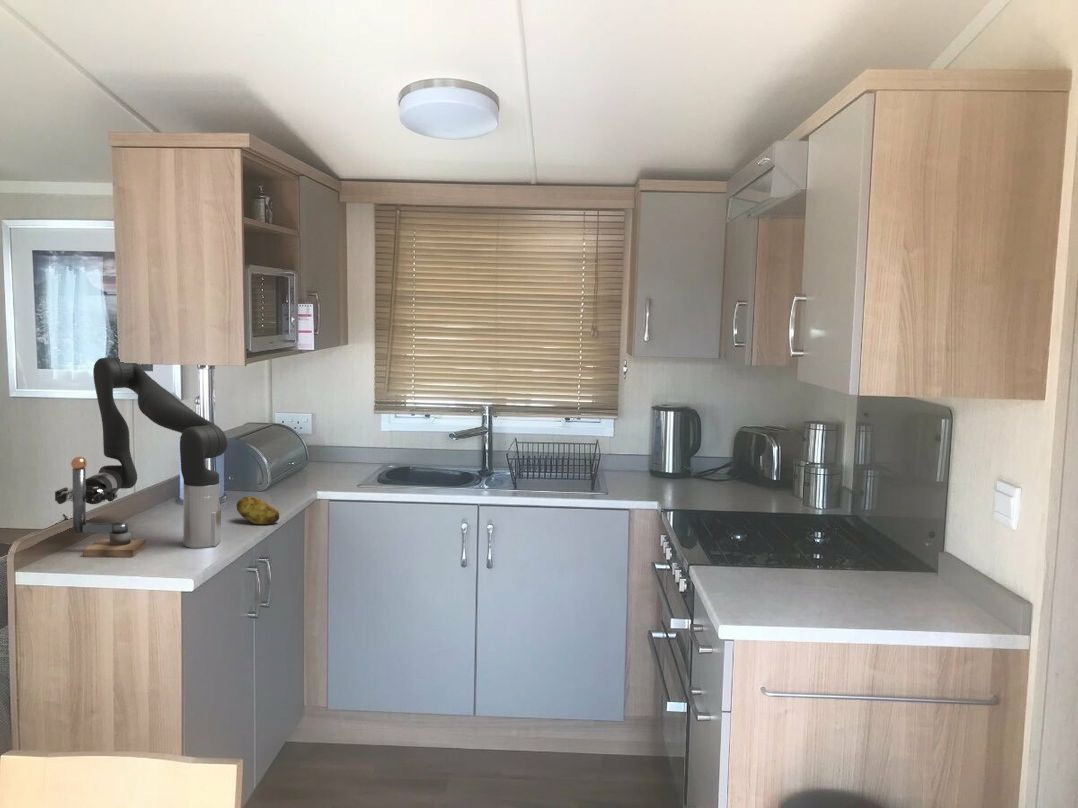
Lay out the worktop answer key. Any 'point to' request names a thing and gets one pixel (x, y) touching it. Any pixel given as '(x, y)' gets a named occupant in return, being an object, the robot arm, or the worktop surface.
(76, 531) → the lever
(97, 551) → the cracker base
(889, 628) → the worktop surface
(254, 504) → the potato
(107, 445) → the robot arm
